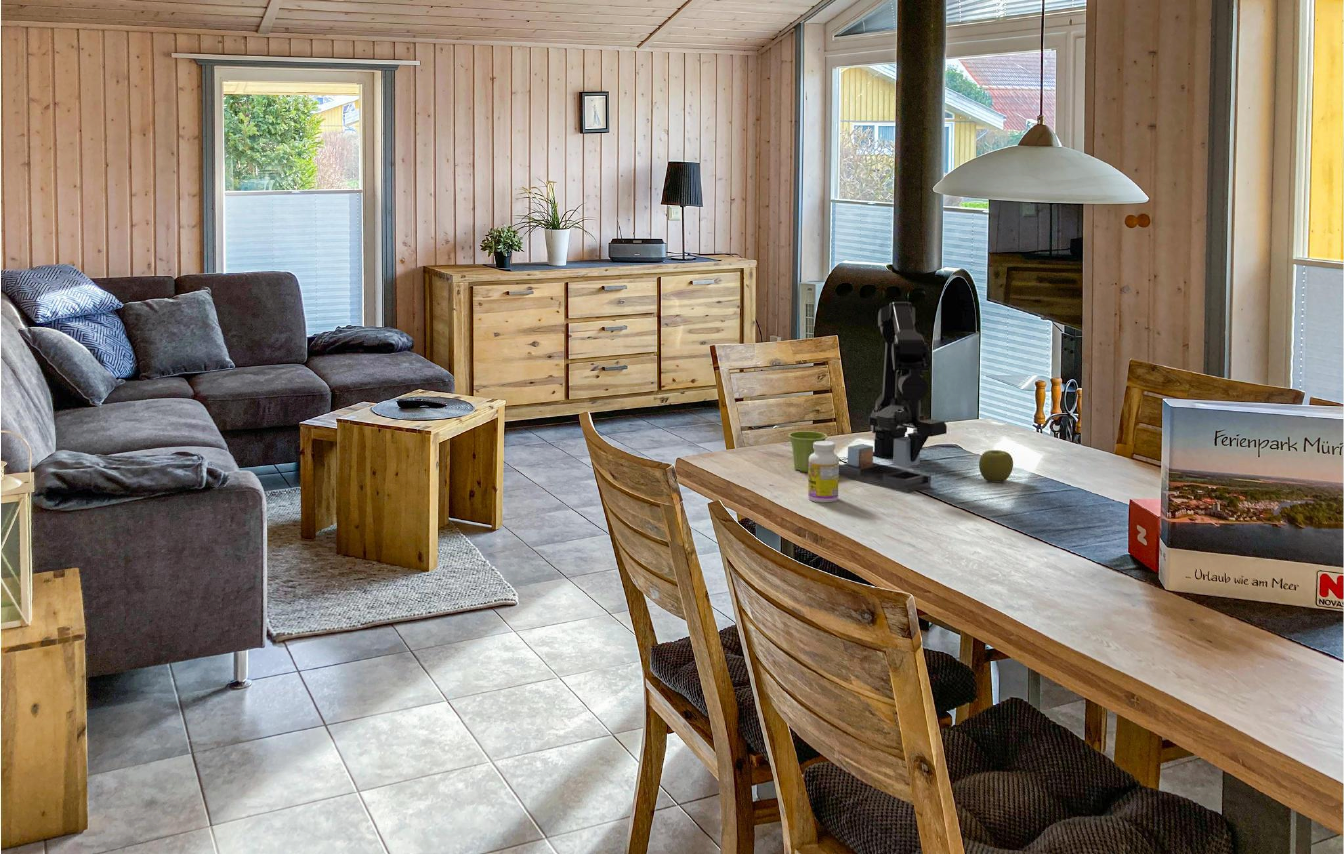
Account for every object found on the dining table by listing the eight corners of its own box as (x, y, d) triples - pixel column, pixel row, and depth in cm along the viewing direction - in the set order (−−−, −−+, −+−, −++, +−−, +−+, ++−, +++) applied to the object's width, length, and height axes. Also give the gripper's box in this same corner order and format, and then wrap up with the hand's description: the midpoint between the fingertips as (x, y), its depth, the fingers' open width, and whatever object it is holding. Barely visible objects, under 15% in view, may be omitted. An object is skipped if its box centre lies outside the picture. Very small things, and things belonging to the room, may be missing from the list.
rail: (859, 470, 293) (860, 441, 292) (930, 487, 276) (931, 456, 275) (836, 475, 288) (837, 445, 287) (907, 492, 271) (908, 461, 270)
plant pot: (826, 465, 299) (826, 431, 297) (827, 474, 289) (827, 439, 288) (788, 464, 299) (788, 430, 298) (788, 473, 290) (788, 438, 289)
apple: (994, 486, 276) (996, 456, 275) (970, 479, 283) (972, 450, 282) (1019, 483, 280) (1020, 453, 278) (995, 476, 286) (996, 446, 285)
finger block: (906, 461, 279) (907, 435, 277) (919, 463, 276) (920, 438, 274) (891, 464, 276) (892, 438, 274) (904, 467, 273) (905, 441, 271)
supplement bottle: (805, 496, 269) (806, 440, 266) (834, 495, 269) (835, 439, 267) (811, 503, 262) (812, 446, 260) (841, 502, 263) (842, 445, 260)
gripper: (853, 391, 275) (851, 458, 278) (916, 402, 260) (914, 472, 263) (885, 386, 281) (884, 451, 284) (949, 397, 267) (946, 465, 270)
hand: (905, 459), depth 275 cm, fingers closed on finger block, 4 cm apart
